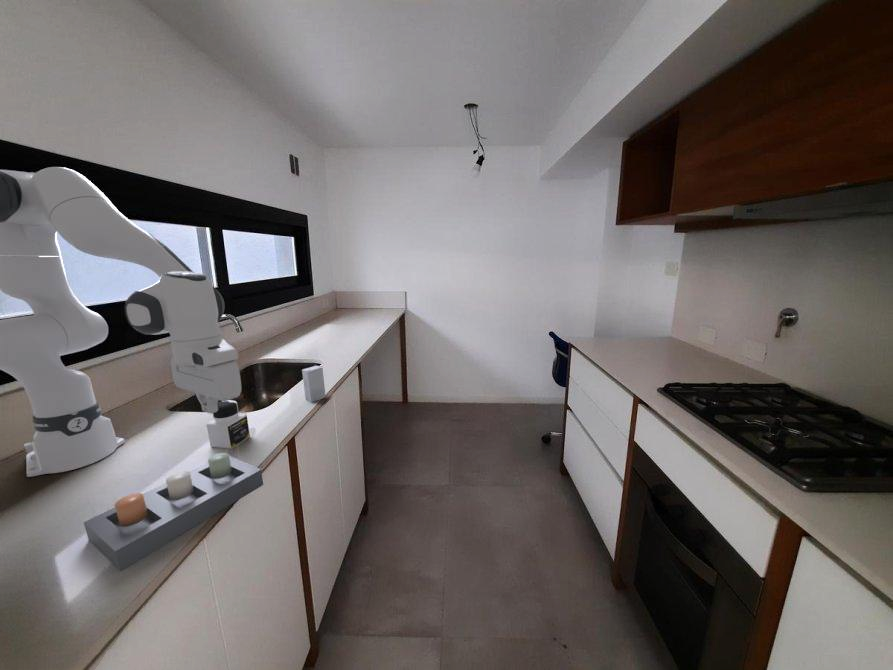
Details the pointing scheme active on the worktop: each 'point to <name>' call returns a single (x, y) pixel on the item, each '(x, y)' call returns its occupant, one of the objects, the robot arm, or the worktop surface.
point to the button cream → (179, 485)
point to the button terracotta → (131, 509)
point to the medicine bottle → (227, 426)
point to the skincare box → (313, 383)
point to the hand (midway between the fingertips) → (210, 411)
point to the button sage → (219, 465)
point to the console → (170, 513)
